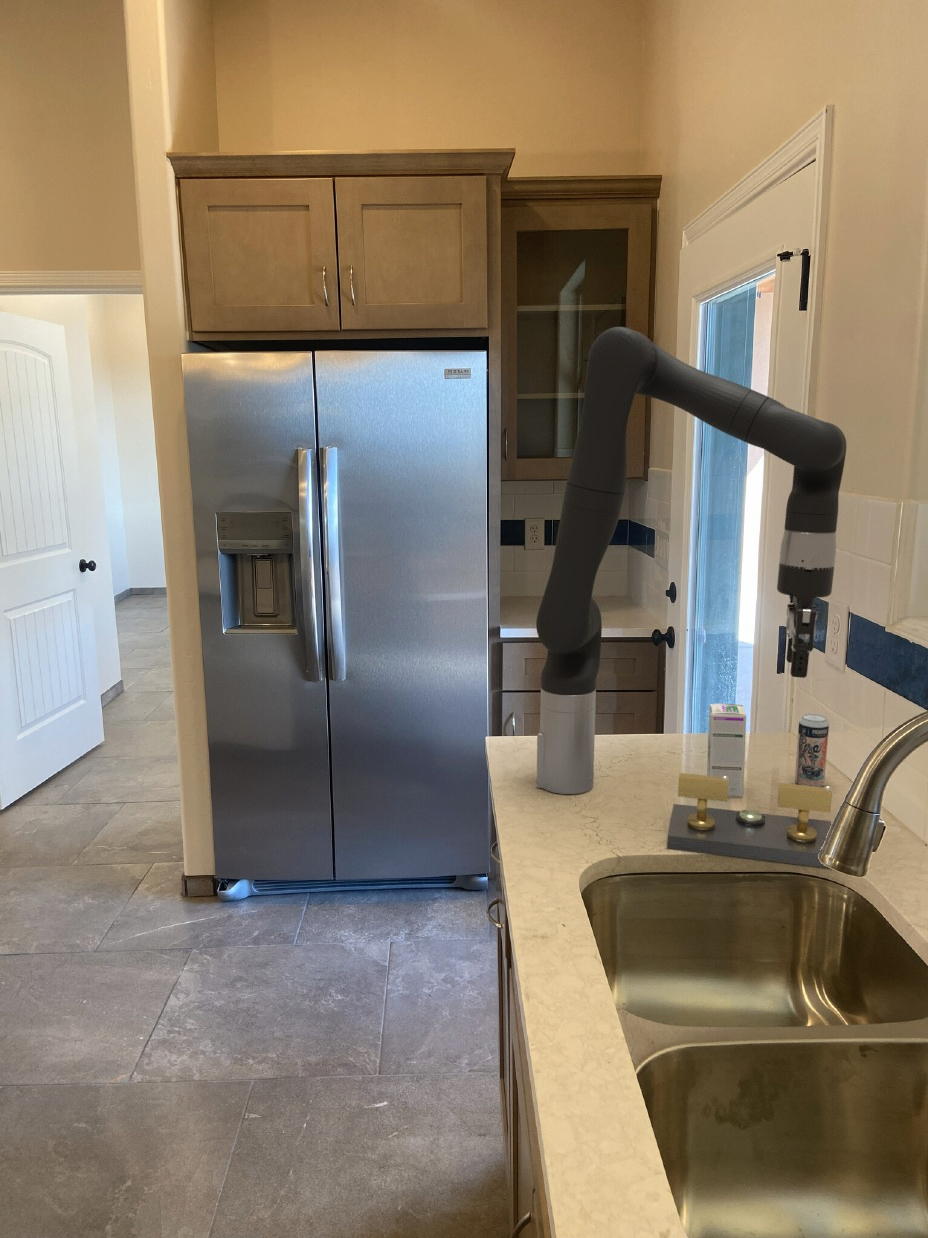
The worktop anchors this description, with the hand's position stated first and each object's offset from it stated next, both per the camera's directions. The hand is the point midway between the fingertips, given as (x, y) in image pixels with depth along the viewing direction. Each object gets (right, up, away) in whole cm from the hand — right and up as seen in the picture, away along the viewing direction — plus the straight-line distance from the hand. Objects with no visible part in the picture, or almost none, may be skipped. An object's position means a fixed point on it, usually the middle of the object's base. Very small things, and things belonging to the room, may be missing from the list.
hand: (796, 669), depth 134 cm
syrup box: (-6, -22, +18) cm, 29 cm away
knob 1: (-14, -23, -1) cm, 27 cm away
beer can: (+10, -21, +20) cm, 31 cm away
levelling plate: (-7, -25, -1) cm, 26 cm away
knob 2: (-1, -24, -5) cm, 24 cm away
